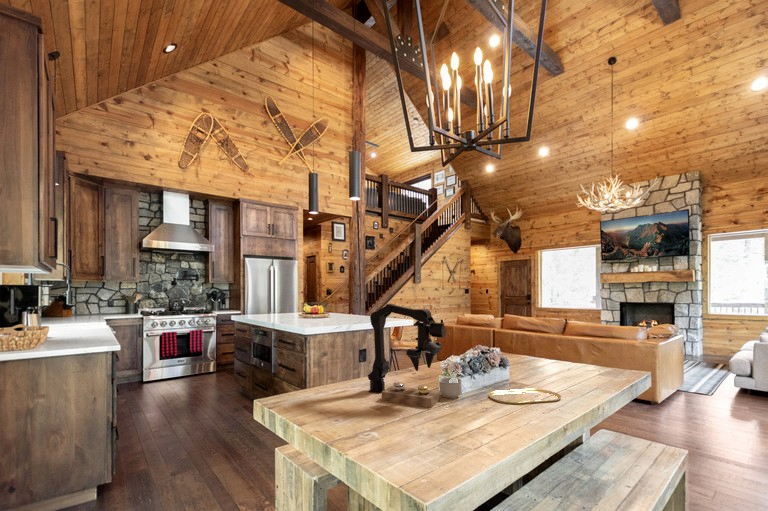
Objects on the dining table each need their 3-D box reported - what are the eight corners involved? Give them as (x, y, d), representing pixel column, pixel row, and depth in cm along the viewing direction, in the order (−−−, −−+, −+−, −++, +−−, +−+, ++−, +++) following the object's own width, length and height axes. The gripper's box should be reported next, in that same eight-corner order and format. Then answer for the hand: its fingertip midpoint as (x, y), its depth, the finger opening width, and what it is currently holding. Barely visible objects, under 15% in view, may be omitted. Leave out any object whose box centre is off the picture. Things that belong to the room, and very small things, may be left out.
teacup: (463, 400, 179) (463, 382, 179) (440, 399, 179) (440, 382, 180) (458, 391, 193) (458, 375, 193) (436, 391, 193) (436, 375, 194)
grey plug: (392, 391, 179) (392, 384, 180) (396, 389, 184) (396, 381, 184) (401, 392, 177) (401, 385, 177) (405, 390, 182) (405, 383, 182)
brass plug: (416, 394, 174) (416, 387, 174) (419, 392, 178) (419, 384, 179) (426, 396, 172) (426, 388, 172) (429, 393, 176) (429, 386, 177)
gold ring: (481, 395, 189) (481, 391, 189) (544, 391, 196) (544, 388, 196) (501, 406, 170) (501, 403, 170) (570, 402, 178) (570, 398, 178)
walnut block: (381, 400, 177) (381, 391, 178) (392, 394, 188) (392, 385, 188) (431, 407, 167) (431, 398, 167) (439, 400, 178) (439, 391, 178)
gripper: (424, 339, 171) (424, 375, 170) (448, 336, 184) (448, 369, 183) (405, 336, 178) (405, 371, 177) (430, 333, 192) (429, 365, 191)
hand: (422, 369), depth 182 cm, fingers open, 9 cm apart
